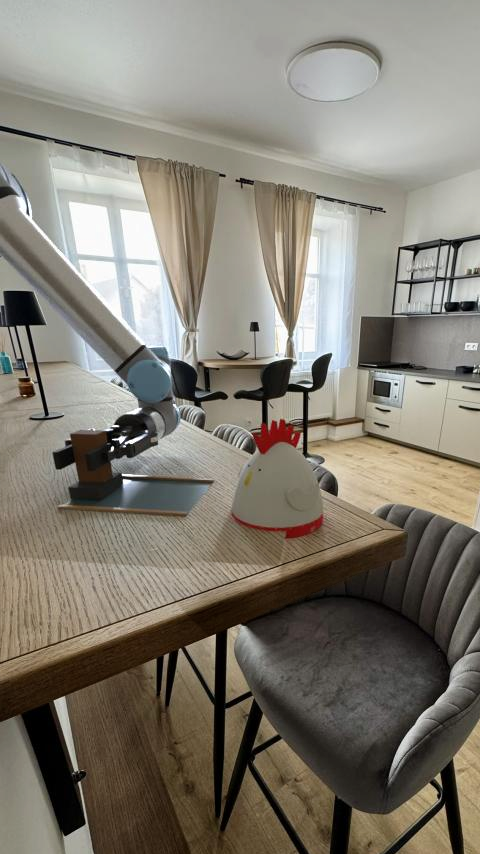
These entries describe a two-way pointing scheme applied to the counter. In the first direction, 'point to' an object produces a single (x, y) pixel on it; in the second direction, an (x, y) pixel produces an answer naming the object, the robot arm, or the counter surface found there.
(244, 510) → the kitchen timer
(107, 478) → the eraser
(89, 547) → the counter surface
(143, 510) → the chalkboard
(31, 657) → the counter surface
